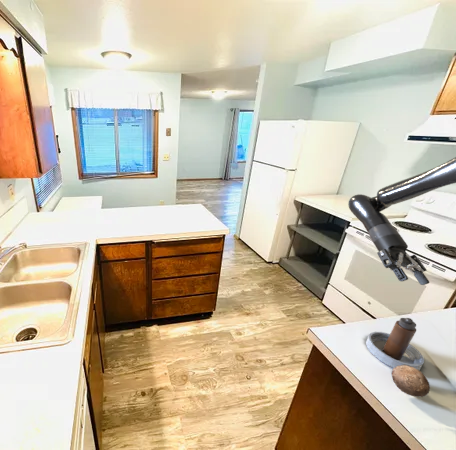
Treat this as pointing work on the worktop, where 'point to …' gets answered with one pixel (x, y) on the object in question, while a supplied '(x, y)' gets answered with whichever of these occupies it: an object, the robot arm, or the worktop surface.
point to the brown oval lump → (410, 381)
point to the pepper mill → (399, 338)
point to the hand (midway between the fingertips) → (415, 282)
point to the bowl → (414, 360)
